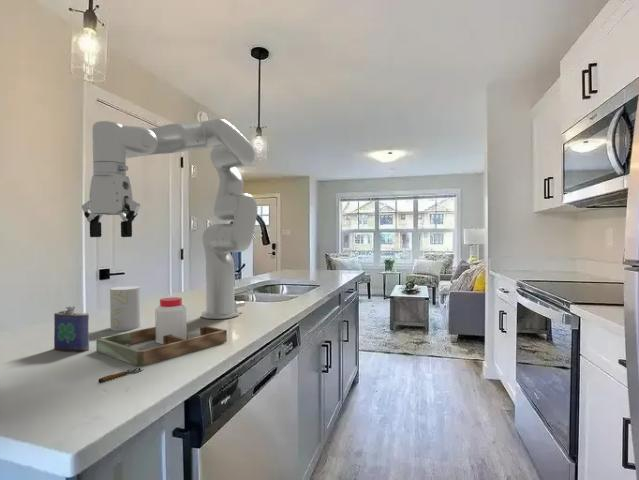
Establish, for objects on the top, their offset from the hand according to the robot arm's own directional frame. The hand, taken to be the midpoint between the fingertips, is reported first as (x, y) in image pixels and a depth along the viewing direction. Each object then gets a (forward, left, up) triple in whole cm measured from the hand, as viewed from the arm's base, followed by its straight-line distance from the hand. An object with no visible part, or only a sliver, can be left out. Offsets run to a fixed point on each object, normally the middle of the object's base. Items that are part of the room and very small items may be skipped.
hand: (111, 237), depth 103 cm
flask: (+9, -1, -28) cm, 29 cm away
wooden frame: (-6, +15, -28) cm, 32 cm away
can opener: (+11, +27, -28) cm, 40 cm away
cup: (-11, -13, -28) cm, 33 cm away
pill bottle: (-10, +11, -28) cm, 31 cm away
